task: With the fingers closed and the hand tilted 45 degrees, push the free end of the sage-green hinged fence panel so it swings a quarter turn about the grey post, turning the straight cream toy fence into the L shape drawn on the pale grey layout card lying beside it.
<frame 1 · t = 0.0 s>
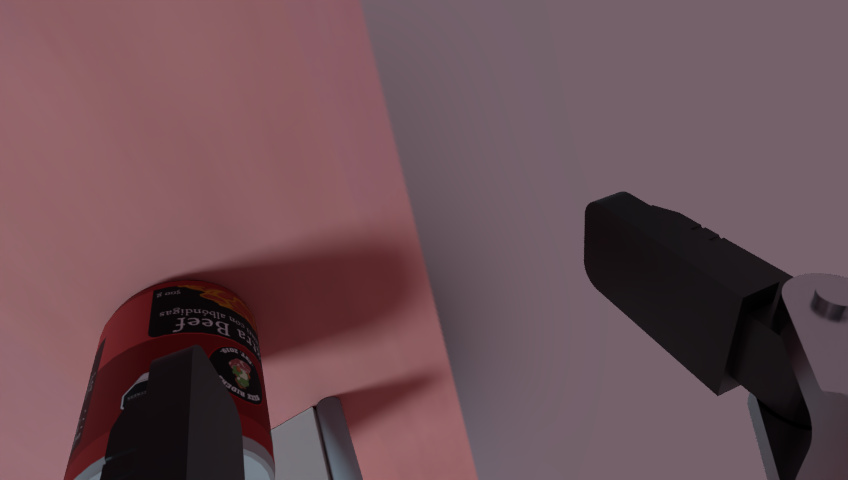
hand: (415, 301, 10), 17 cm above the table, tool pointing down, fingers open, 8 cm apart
canned food: (183, 329, 28), on the table
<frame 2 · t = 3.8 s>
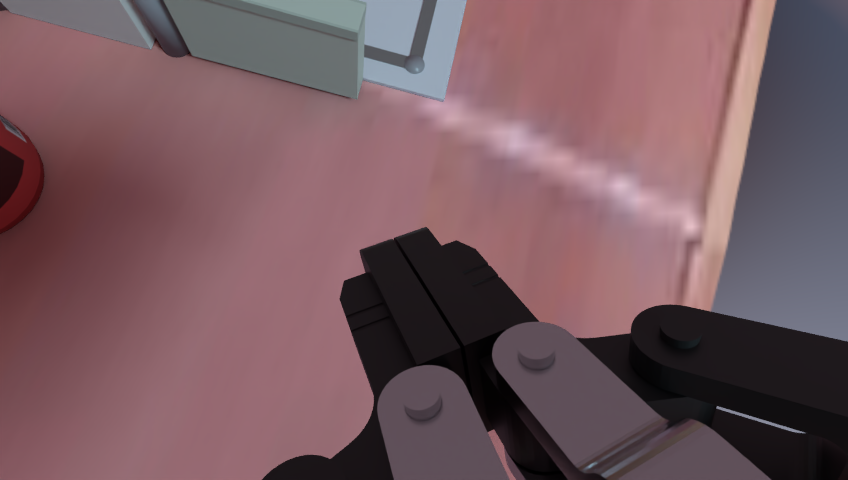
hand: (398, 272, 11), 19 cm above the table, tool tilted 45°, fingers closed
layout card: (388, 20, 34), on the table
swing panel: (270, 32, 28), point 4 cm above the table, hinge at 0.0°
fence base: (177, 45, 32), on the table
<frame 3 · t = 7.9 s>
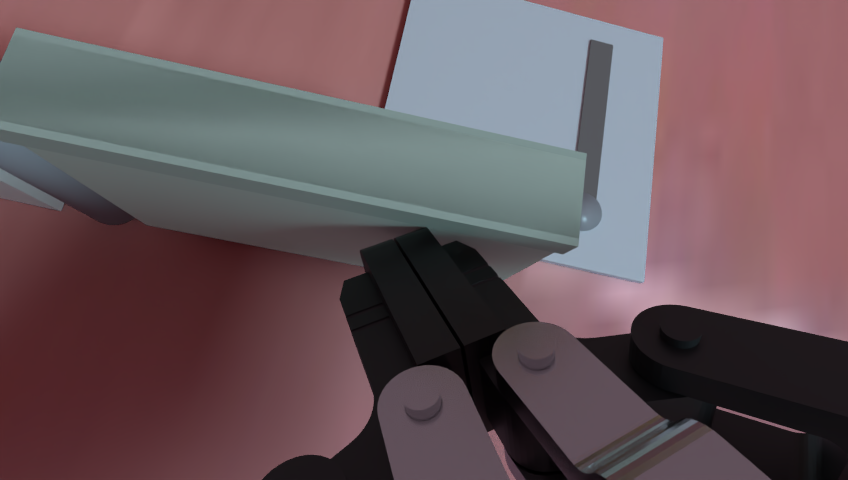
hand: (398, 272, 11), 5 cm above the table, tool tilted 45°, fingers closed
layout card: (523, 122, 18), on the table
swing panel: (318, 199, 12), point 4 cm above the table, hinge at 1.5°, touching gripper
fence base: (116, 197, 16), on the table
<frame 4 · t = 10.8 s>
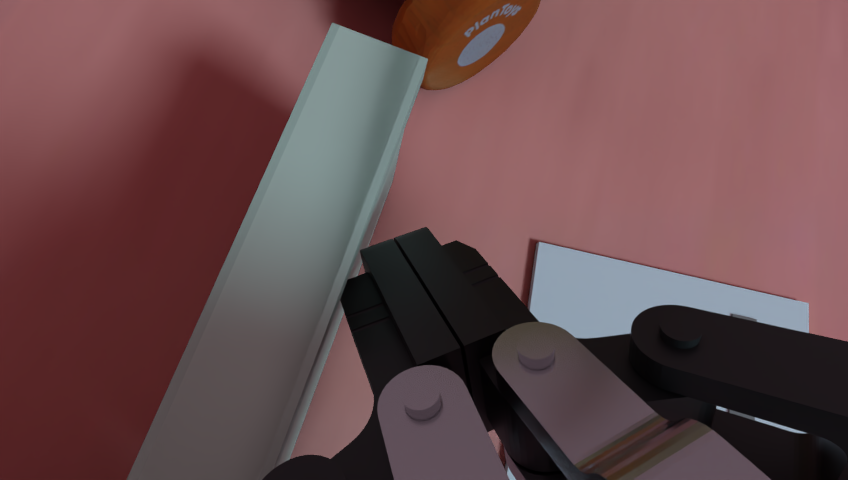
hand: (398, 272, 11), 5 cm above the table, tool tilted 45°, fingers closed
layout card: (662, 423, 16), on the table
swing panel: (294, 323, 11), point 4 cm above the table, hinge at 82.8°, touching gripper
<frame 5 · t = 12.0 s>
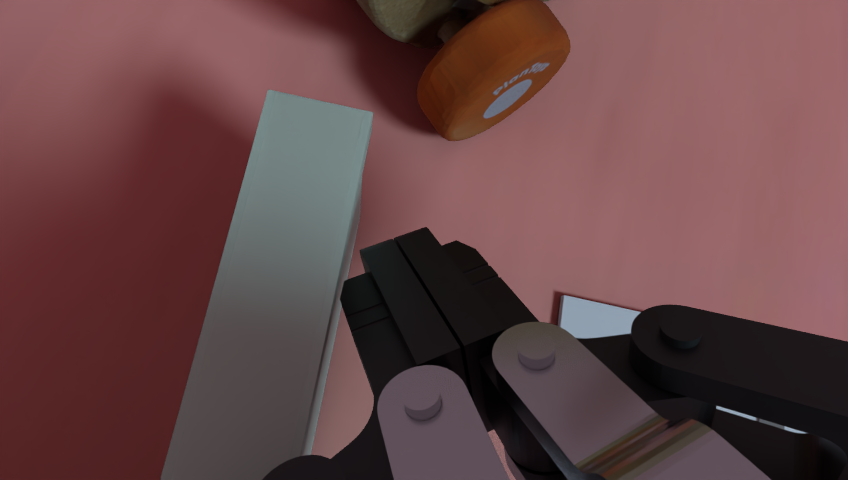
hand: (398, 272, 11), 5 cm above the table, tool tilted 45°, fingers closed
swing panel: (279, 391, 11), point 4 cm above the table, hinge at 91.7°, touching gripper
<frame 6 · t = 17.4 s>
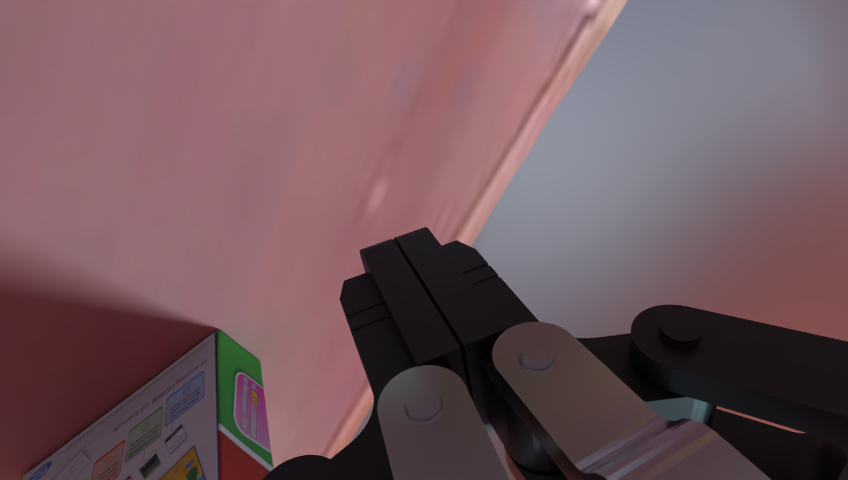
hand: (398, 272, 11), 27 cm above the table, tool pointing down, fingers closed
game box: (146, 411, 43), on the table
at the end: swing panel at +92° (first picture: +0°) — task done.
